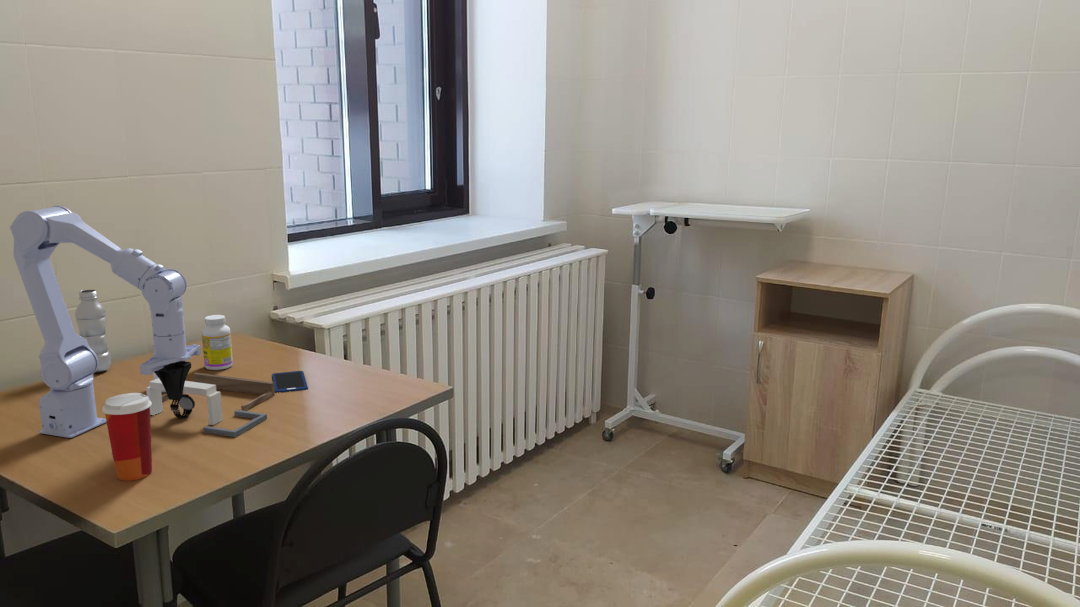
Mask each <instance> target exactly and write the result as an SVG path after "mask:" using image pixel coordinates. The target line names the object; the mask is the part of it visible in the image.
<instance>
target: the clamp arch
mask: <svg viewBox="0 0 1080 607" xmlns="http://www.w3.org/2000/svg"><path fill="white" fill-rule="evenodd" d="M145 389H146V390H145V391H146V396H148V398H149V400H150V401H151V402H152V405H151V406H150V415H154V416H156V415H155V414H157V415H159V414H160V412H161V413H163V412H164V406H163V405H164V404H163V402H162V395H163V394H162V392H161V390H165V388H164V386H163V384H162V382H161V381H160V379H159V378H157V379H155V380H154V379H152V380H150V381H149V386H147V387H145ZM183 394H188V395H195V396H196V395H197V396H202V397H206V404H207V416H208V425H209V426H215V425H217V424H218V423H220V422H222V421H223V419H224V418H223V417H224V416H223V408H222V407H223V406H222V393H221V391H219V390H218V391H217V389H216V385H213V384H206V383H198V382H193V381H189V380H185V384H184V388H183ZM162 411H163V412H162ZM158 413H159V414H158Z"/></svg>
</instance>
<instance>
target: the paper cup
mask: <svg viewBox="0 0 1080 607" xmlns="http://www.w3.org/2000/svg"><path fill="white" fill-rule="evenodd" d="M151 405H152V402H151V401H150V400H149V398H148V396H147V394H144V393H141V392H129V393H123V394H122V393H121V394H116V395H114V396H110V397H108V398H107V399H106V400H105V401H104V404H103V407H102V409H101V410H102V411H101V412H102V413H103V414H104V416H105V419H106V425H107V426H106V427H107V432H108V437H109V441H110V442H109V443H110V448H111V454H112V459H113V463H114V469H115V474H116V478H117V479H118V480H120V481H122V482H124V481H125V482H132V481H133V482H134V481H137V480H138V481H139V480H141V479H144V478H146V477H149V476H150V475H152V471H153V458H152V457H153V456H152V429H151V428H152V427H151V423H152V422H151V416H150V406H151Z"/></svg>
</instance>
